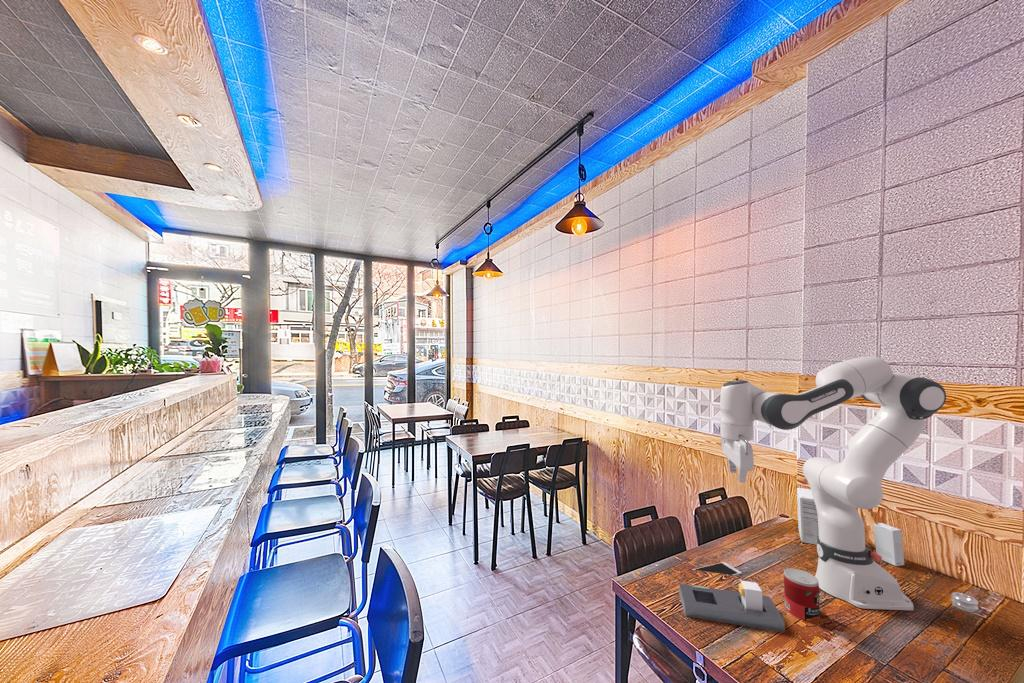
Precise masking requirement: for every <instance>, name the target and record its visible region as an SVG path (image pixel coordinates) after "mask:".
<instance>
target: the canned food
mask: <svg viewBox="0 0 1024 683" xmlns="http://www.w3.org/2000/svg"><path fill="white" fill-rule="evenodd" d="M783 585H784V586H783V588H784V589H783V590H784V591H783V592H784V608H785V610H786V611H787V613H789V614H790V615H791V616H793V617H795V618H796V619H799V620H801V621H804V622H808V623H818V622H819V621H821V611H820V610H821V608H820V606H821V605H820V588H819V582H818V579H817V578H816V577H815V575H813V574H812V573H810V572H807V571H805V570H802V569H797V568H793V567H792V568H791V567H790V568H786V569H784V570H783Z"/></svg>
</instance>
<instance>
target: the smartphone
mask: <svg viewBox="0 0 1024 683" xmlns="http://www.w3.org/2000/svg"><path fill="white" fill-rule="evenodd" d="M691 570H692V571H693V570H694V571H700V572H708V573H715V574H723V575H731V576H739V575H738V574H740V575H742V574H743V573H742V571H740V570H738V569H737V568H735V567H733V566H732V565H730V564H729V563H727V562H726V561H722V562H718V563H714V564H713V563H712V564H710V565H705V566H701V567H697V568H694V569H693V568H692V569H691Z"/></svg>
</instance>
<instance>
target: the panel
mask: <svg viewBox="0 0 1024 683" xmlns="http://www.w3.org/2000/svg"><path fill="white" fill-rule="evenodd" d="M678 589H679V590H678V594H679V598H680V602H681V605H682V609H683V614H684V616H685V617H689V618H695V619H701V620H708V621H714V622H720V623H725V624H726V623H727V624H733V625H739V626H745V627H751V628H758V629H763V630H768V631H775V632H781V633H785V632H786V628H785V627H786V626H785V618H784V617H783V615H782V614H781V613H780V611H779V610H778V609H779V608H777V606H776V605H775V603H774V602H773V600H772V599H771V596H768V595H762V604H763V612H761V611H754V610H748V609H744V608H743V606H742V602H741V594H740V592H739V591H734V590H733V591H732V590H726V589H718V588H711V587H707V586H699V585H695V584H693V585H691V584H684V583H679V584H678Z"/></svg>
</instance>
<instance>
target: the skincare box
mask: <svg viewBox="0 0 1024 683" xmlns="http://www.w3.org/2000/svg"><path fill="white" fill-rule="evenodd" d="M873 531H874V534H873V535H874V544H875V552H876V553H877V554H879V555H880V556H881V558H882V560H881V561H883V562H886V563H888V564H891V565H893V566H894V567H900V566H904V565H905V556H904V547H903V546H904V545H903V544H904V543H903V533H902V529H900V528H897V527H894V526H891V525H889V524H886V523H884V522H878V523H874V524H873Z"/></svg>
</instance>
